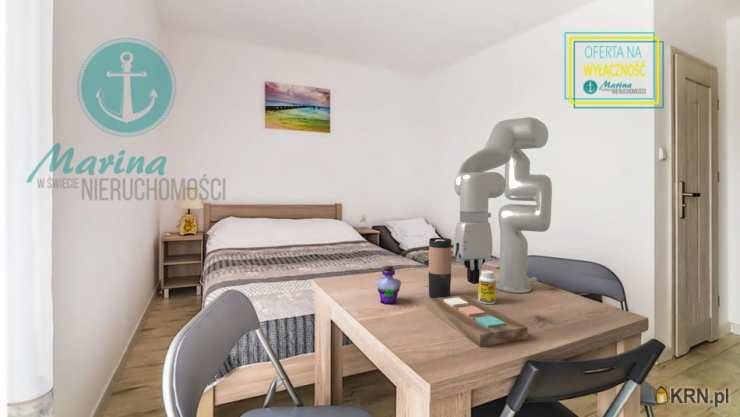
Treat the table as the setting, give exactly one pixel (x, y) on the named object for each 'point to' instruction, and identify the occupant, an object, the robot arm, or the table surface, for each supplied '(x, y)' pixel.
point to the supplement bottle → (487, 287)
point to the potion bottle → (388, 286)
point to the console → (473, 328)
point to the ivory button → (455, 302)
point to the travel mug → (439, 267)
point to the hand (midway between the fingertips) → (473, 282)
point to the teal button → (489, 321)
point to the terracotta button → (471, 311)
